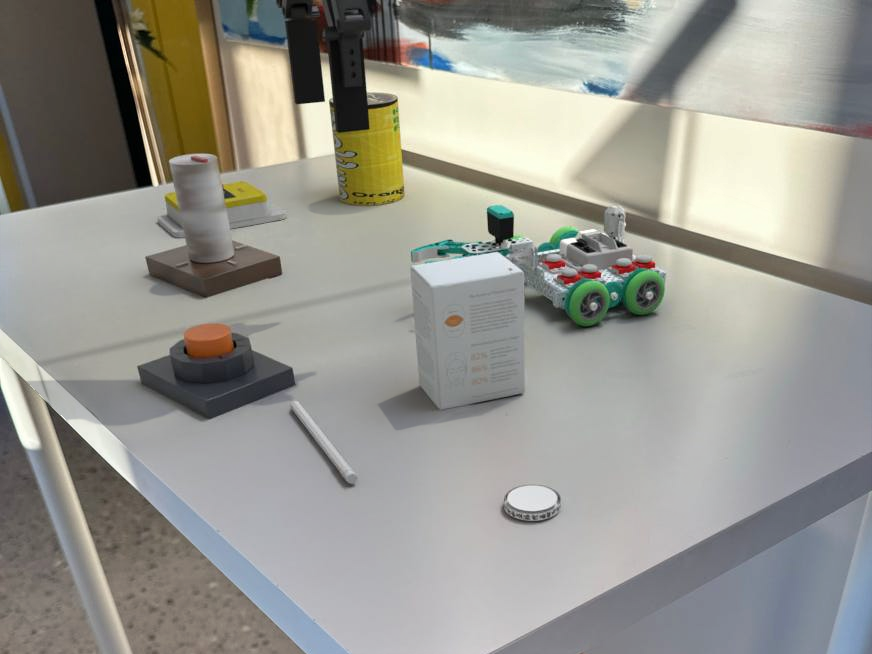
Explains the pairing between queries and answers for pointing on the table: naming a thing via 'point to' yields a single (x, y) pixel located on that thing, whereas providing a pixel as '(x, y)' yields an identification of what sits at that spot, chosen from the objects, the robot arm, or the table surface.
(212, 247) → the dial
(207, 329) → the push knob
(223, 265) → the dial panel
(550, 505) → the white flat disc
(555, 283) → the robot kit
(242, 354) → the button housing
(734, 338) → the table surface
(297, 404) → the white rod
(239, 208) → the yellow box on plate
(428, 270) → the small box
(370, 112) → the beverage can
